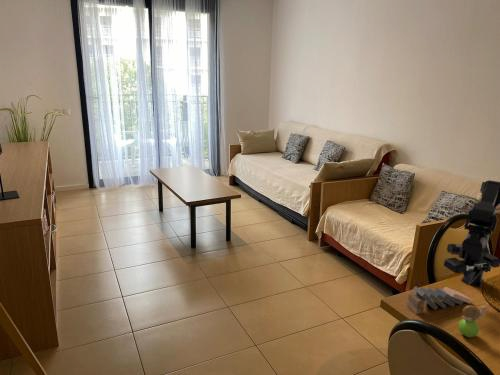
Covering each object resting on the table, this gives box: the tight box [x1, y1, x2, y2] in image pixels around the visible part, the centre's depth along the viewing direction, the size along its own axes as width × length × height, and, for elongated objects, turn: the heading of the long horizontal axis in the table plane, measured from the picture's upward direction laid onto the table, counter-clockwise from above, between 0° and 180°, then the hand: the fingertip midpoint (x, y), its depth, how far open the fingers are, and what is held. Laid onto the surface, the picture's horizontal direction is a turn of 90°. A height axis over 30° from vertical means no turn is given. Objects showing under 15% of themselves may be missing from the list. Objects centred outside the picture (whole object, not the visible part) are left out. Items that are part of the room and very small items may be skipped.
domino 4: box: [434, 287, 464, 306], centre depth 131 cm, size 1×4×10 cm
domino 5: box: [442, 286, 473, 304], centre depth 132 cm, size 1×4×10 cm
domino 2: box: [419, 286, 447, 309], centre depth 129 cm, size 1×4×10 cm
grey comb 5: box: [412, 286, 439, 311], centre depth 128 cm, size 1×4×10 cm
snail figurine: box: [457, 301, 489, 338], centre depth 114 cm, size 5×6×12 cm
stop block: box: [406, 292, 426, 315], centre depth 127 cm, size 3×4×5 cm
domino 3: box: [426, 287, 456, 308], centre depth 130 cm, size 1×4×10 cm
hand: (467, 284), depth 132 cm, fingers closed
